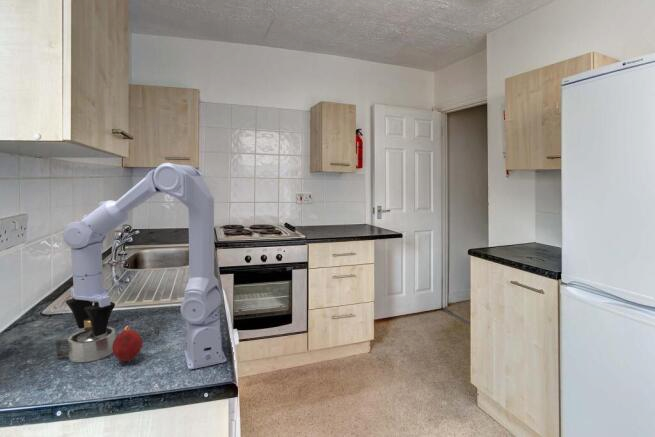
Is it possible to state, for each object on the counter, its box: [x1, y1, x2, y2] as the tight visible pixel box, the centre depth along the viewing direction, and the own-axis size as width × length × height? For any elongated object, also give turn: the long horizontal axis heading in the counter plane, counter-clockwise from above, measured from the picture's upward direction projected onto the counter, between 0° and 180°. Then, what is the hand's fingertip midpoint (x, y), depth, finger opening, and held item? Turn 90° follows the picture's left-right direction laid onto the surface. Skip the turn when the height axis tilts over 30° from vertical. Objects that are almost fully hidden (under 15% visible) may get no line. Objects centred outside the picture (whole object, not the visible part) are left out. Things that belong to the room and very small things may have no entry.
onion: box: [112, 325, 143, 362], centre depth 79 cm, size 6×6×8 cm
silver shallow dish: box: [55, 326, 117, 364], centre depth 82 cm, size 9×11×4 cm
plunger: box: [77, 318, 108, 342], centre depth 82 cm, size 6×6×5 cm
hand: (91, 330), depth 82 cm, fingers open, 7 cm apart
